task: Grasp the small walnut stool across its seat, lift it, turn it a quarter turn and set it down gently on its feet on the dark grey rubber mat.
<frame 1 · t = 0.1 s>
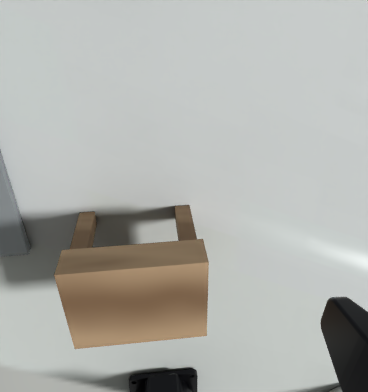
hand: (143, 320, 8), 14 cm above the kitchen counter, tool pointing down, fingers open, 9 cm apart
stool: (138, 240, 25), on the kitchen counter
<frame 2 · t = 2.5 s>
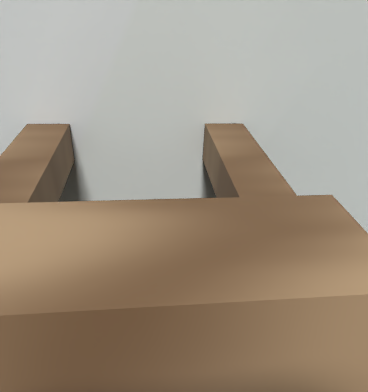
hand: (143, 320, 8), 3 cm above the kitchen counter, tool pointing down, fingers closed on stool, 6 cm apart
stool: (142, 240, 11), on the kitchen counter, touching gripper
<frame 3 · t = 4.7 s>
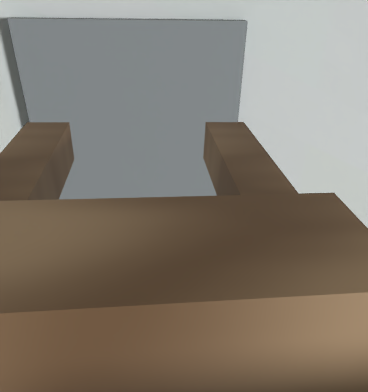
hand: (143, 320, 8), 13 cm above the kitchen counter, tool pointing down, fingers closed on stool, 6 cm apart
mat: (137, 129, 19), on the kitchen counter
stool: (142, 239, 11), point 10 cm above the kitchen counter, touching gripper
when the fingers open (5 cm above the kitchen counter, at t = 7.1 s): stool drops 1 cm, resting on mat.
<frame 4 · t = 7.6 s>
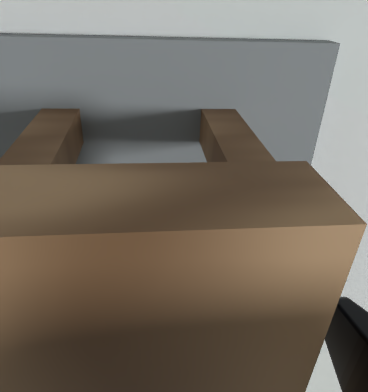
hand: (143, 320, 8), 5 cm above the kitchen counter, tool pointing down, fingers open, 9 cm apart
mat: (141, 208, 12), on the kitchen counter
stool: (144, 217, 12), point 1 cm above the kitchen counter, touching mat
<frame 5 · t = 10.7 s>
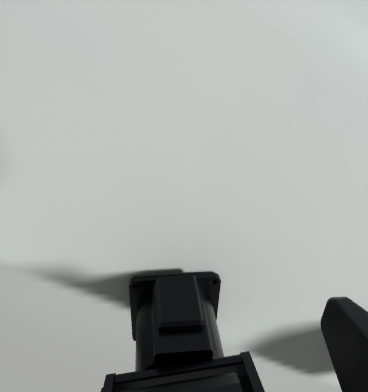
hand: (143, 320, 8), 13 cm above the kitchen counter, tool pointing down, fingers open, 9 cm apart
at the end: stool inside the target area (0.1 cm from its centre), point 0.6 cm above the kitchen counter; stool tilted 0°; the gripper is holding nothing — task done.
